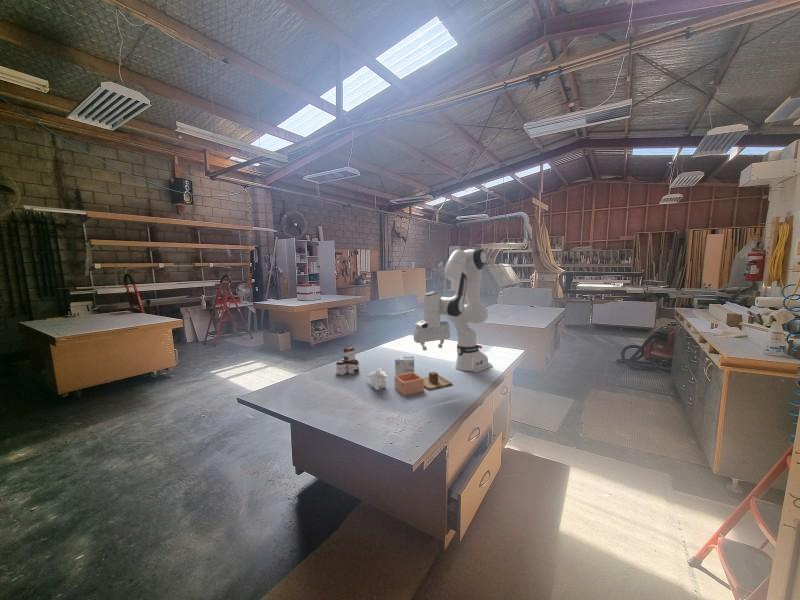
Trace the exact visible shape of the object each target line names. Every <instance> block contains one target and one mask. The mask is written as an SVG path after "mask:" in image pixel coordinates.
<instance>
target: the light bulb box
mask: <svg viewBox="0 0 800 600" xmlns="http://www.w3.org/2000/svg"><path fill="white" fill-rule="evenodd" d="M394 372H395V376H396V375H401V374H406V373H411V372H414V373H415V357H414V356H410V355H409V356H395V359H394Z"/></svg>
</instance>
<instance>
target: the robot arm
mask: <svg viewBox="0 0 800 600" xmlns="http://www.w3.org/2000/svg"><path fill="white" fill-rule="evenodd" d="M487 258H488V257H487V253H486V251H485V250H484V249H483V248H475V249H474V248H471V249H470V248H469V249H466V250H462V249H456V250H454V251H452V253H451V254H450V255H449V258H448V260H447V262H446V263H445V266H444V271H443V273H444V277H445V278H446V279H447V280H448V281H450V282H451V283H453V284H456V289H455V292H454V293H455V294H454V295H453V296H452V297H451V296H442V295H440V294H439V292H438V291H434V290H433V291H427V292H426V293H424V295H423V297H422V298H423V299H422V300H423V301H422V310H423V311H422V312H423V319H421V320H418V321H417V322H415V323H414V327H415V328H414V330H413V341H414V342H415V343H417V344H420V345H421V347H422V350H423V351H425V352H426V351H427V349H428V347H427V346H425V345H426V344H425V343H428V342H434V341H435V342H436V341H439V343H438V344H437V345H438V348H439V349H442V348H443V345H444V343H445V340H448V339H450V338H451V331H450V323H449V322H448V321H450V322H451V323H452V324H453V326H454V328H455V331H456V335H457V338H456V339H457V344H456V352H457V353H456V355H457V356H456V363H455V366H454V367H455V368H456V369H457V370H459V371H463V372H464V371H465V372H474V373H476V372H482V371H484V370H487V369H489V368H492V367H493V364H492V363H490V362H489V358H488V356H487V355H486V354H485V353H484V352H482V351H481V350H482V348H483V346H482V345H481V344H477V333H476V331H475V329H474V328H472V327H470V323H471V324H472V323H473V324H481V323H484V322H486V320H488V317H489V310H488V308H487V307H486V306H485V305H484V304H483V302H482V301H481V297H480V296H481V287H482V279H483V271H482V269H483V268H484V266H485V265H486V263H487V260H488V259H487ZM465 299H466V300H467V303H465ZM441 315H442V316H446V317H447V319H448V321H446V320H445V321H441Z"/></svg>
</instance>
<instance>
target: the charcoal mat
mask: <svg viewBox="0 0 800 600" xmlns="http://www.w3.org/2000/svg"><path fill="white" fill-rule="evenodd" d="M451 386H453V384H452V385H450V386H446V387H441V388H437V389H432V390H428V389H426V388H425V387H424V389H425V390H426V391H428V392H430V391H434V390H439V389H443V388H449V387H451Z"/></svg>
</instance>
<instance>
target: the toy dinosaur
mask: <svg viewBox="0 0 800 600" xmlns="http://www.w3.org/2000/svg"><path fill="white" fill-rule="evenodd" d="M365 376H366V377H367V378H369V379H370V383H371V384H370V386H371V387H372V388H374V390H375V391H379V390H380V389H381V388H382V389H386V387H387V381H386V378H388V377H389V376H388V375H387V373H386V370H385V369H384V368H382V367H380V368H377V369H376V370H373V371H371V372H369V373H367V375H366V374H365ZM380 387H381V388H380Z"/></svg>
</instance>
